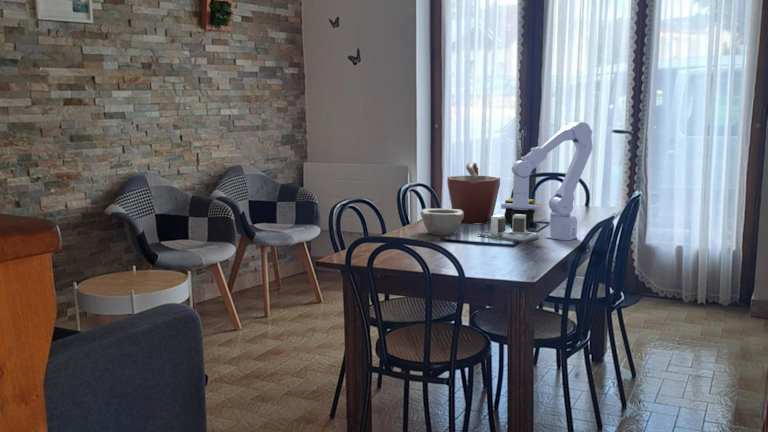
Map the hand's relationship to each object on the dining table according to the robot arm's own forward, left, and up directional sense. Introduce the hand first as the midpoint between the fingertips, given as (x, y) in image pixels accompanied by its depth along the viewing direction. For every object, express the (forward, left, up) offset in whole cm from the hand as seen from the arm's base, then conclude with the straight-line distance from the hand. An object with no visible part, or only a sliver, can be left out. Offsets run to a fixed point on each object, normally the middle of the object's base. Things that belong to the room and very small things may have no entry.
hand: (519, 228), depth 267 cm
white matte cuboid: (0, 0, -2) cm, 2 cm away
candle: (+17, -31, -4) cm, 36 cm away
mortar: (+29, +9, -4) cm, 31 cm away
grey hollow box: (+5, 0, -4) cm, 6 cm away
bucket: (+36, -23, -4) cm, 43 cm away
